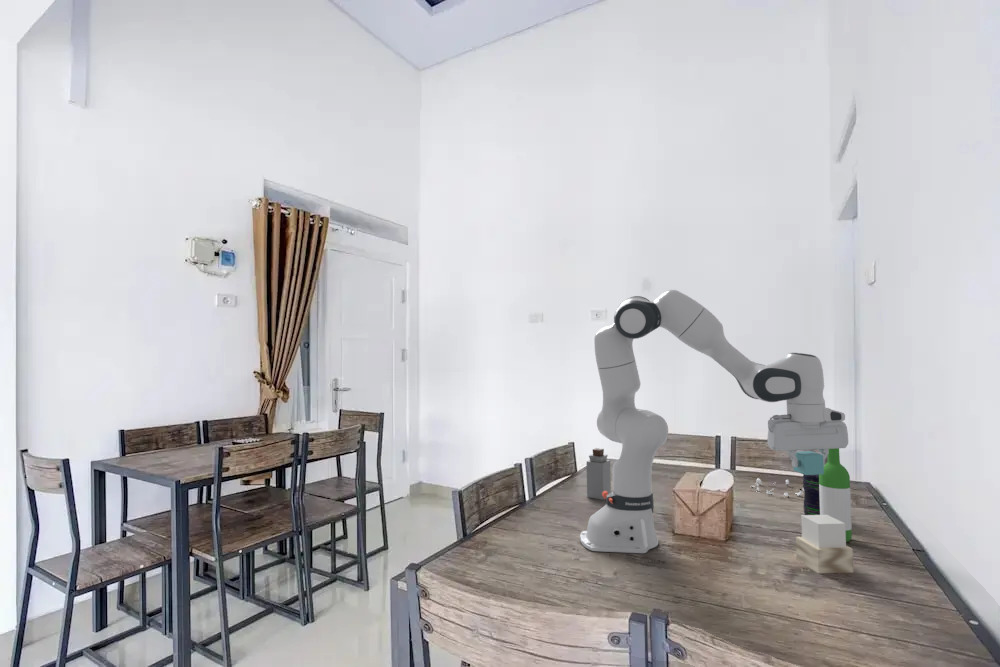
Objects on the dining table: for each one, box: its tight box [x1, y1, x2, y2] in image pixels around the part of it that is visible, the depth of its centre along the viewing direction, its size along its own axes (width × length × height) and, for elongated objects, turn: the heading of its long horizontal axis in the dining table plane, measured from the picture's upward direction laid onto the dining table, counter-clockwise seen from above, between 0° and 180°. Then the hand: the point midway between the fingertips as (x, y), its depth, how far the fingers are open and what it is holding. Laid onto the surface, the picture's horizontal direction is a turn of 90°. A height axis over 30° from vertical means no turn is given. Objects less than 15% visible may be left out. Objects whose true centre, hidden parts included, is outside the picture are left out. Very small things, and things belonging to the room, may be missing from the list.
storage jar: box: [802, 474, 820, 515], centre depth 170 cm, size 10×10×15 cm
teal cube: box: [792, 450, 824, 475], centre depth 138 cm, size 5×5×5 cm
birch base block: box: [795, 536, 854, 574], centre depth 134 cm, size 9×9×6 cm
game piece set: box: [751, 477, 804, 497], centre depth 204 cm, size 19×20×4 cm
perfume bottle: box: [586, 447, 612, 501], centre depth 200 cm, size 7×7×18 cm
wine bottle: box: [819, 448, 853, 543], centre depth 153 cm, size 8×8×30 cm
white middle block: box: [800, 514, 847, 548], centre depth 134 cm, size 7×7×6 cm
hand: (808, 466), depth 138 cm, fingers closed on teal cube, 5 cm apart
